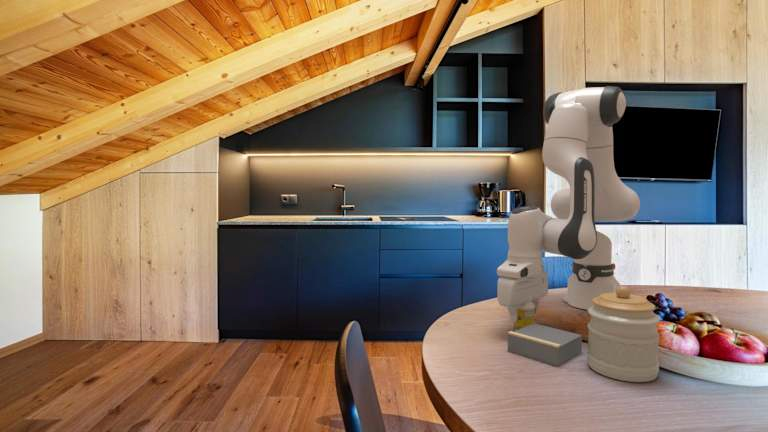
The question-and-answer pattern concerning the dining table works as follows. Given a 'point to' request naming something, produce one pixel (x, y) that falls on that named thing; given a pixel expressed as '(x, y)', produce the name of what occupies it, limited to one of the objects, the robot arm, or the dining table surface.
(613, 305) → the jar
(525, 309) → the supplement bottle
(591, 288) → the robot arm
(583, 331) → the pastry
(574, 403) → the dining table surface
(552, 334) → the block
